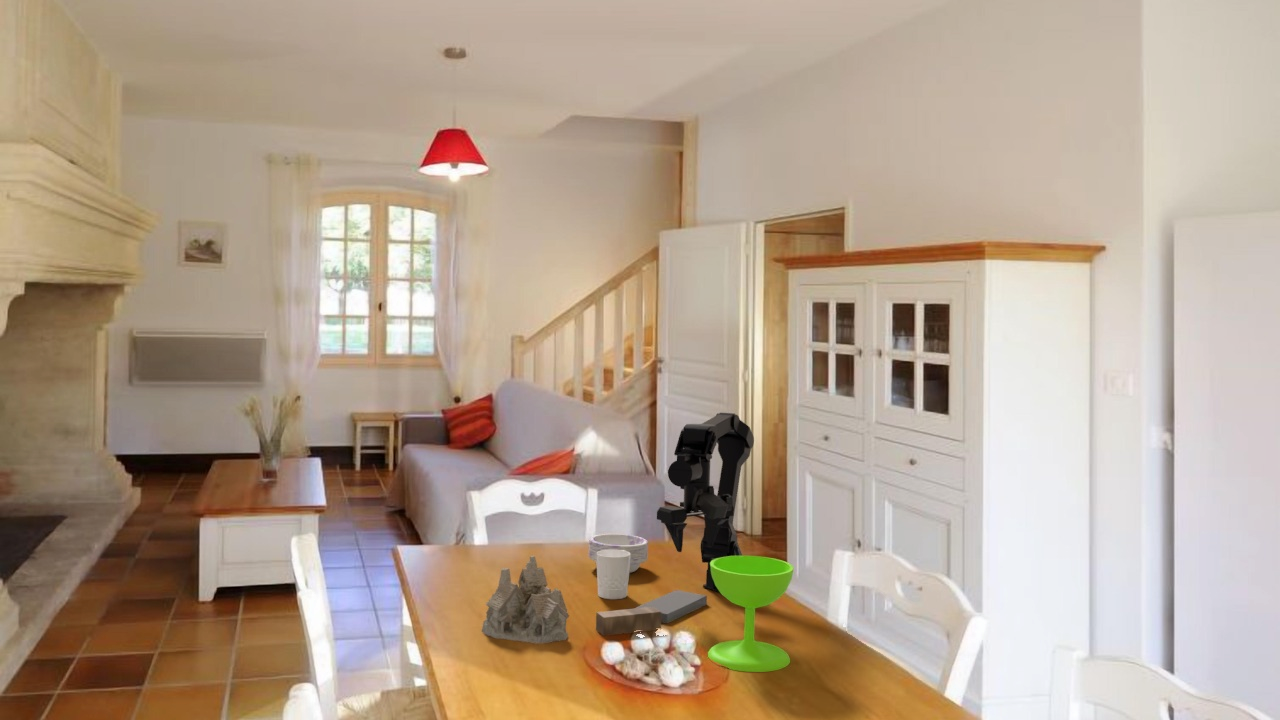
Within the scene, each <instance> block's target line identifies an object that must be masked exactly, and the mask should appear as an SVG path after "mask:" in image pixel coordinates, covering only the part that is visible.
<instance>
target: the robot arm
mask: <svg viewBox="0 0 1280 720" xmlns="http://www.w3.org/2000/svg"><path fill="white" fill-rule="evenodd" d="M753 434H754V433H753V431H752V430H751V428H750V426H749V425H748V424H747V423H745V422H744V421H742V420H741V419H740V417H739V415H738V414H736V413H732V412H731V413H730V412H719V413H716V415H715V416H713V417H711V418H709V419H708V420H706V421H704V422H702V423H687V424H685V425H684V426H683V428H682V429H681V431H680V433H679V435H678V440H677V442H676V447H675V450H674V452H673V453H674V456H676V460H675V461H673V462H672V463H671V464H670V466H669V467H668V470H667V476H668V480H669V481H670V482H671V483H672V484H673V485H674V486H676V487H680V489H681V490H683V501H680V502H679V507H677V506H674V505H666V506H660V507H659V508H658V509H657V510H656V520H659V521H660V523H662V524H663V525H664V526H665V527H666V529H667V531H668V533H669V536H670V537H671V540H672V542H673V545H674V547H675V549H676V550H675V551H676V552H678V553H682V551H683V545H684V544H683V543H684V530H685V528H686V527H687V526H688V523H686V520H687V518H688V517H689V518H690V517H695V516H704V517H703V519H704V530H703V536H702V539H701V541H700V554H701V555H700V556H701V563H705V564H706V563H707V569H706V575H705V576H706V577H705V579H706V581H705V584H702V588H706V589H708V590H711V591H714V592H717V593H720V591H719V590H718V589H717V587H716V586H715V583H714V581H713V578H712V575H711V567H710V562H711V561H712V560H714V559H716V558H720V557H726V556H741V555H743V553H742V550H741V548H740V545H739V543H738V535H737V531H736V529H735V527H734V516H735V511H736V503H737V498H738V490H739V483H740V477H741V470H742V466H743V465H744V463H745V462H746V461H747V460H748V459H749V458H750V455H751V451H752V449H753V447H754V442H755V437H754V435H753ZM716 446H717V451H718V454H719V456H720V459H721V461H722V462H721V463H722V464H721V471H720V475H719V482H718V489H717V495H716V494H715V488H714V485H710V484H711V459H713V454H714V450H715V448H716Z"/></svg>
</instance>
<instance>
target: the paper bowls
mask: <svg viewBox="0 0 1280 720" xmlns="http://www.w3.org/2000/svg"><path fill="white" fill-rule="evenodd" d="M588 541H589V542H588V544H589V545H588V558H589V559H590V560H592V561H593V562H594V561H595V564H596V566H597V552H598V551H601V550H609V549H615V550H624V551H628V552H630V554H631V555H630V569H629V574H631V573H633V572H634V573H635V572H636V571H637V570H638V569H639V567H640V565H641V564H643V563H646V562H647V561H648V555H649V553H648V551H649V541H648V540H647V539H645V538H644V537H640V536H637V535H632V534H631V535H630V534H622V533H621V534H620V533H603V534H596V535H593V536H591V537H590V538H589V539H588Z"/></svg>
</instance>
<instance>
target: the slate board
mask: <svg viewBox="0 0 1280 720" xmlns="http://www.w3.org/2000/svg"><path fill="white" fill-rule="evenodd" d="M707 599H708V596H707V595H706V594H699V593H694V592H689V591H684V590H680V589H679V590H677V589H675V590H673V591H671V592H669V593H665V594H663V595H662V596H659V597H657V598H654V599H652V600H650V601H648V602H646V603H642V604H641V605H639V606H636V607H635V608H644V607H655V608H656V609H658V610H659V611H661V624H662V623H664V624H669V623H671V622H673V621H676V620H677V619H679V618H681V617H683V616H686V615H688V614H691V612H694V611H696V610H698V609H700V608H703V607H705V606H706V605H707V603H708V602H707V601H708V600H707Z"/></svg>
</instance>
